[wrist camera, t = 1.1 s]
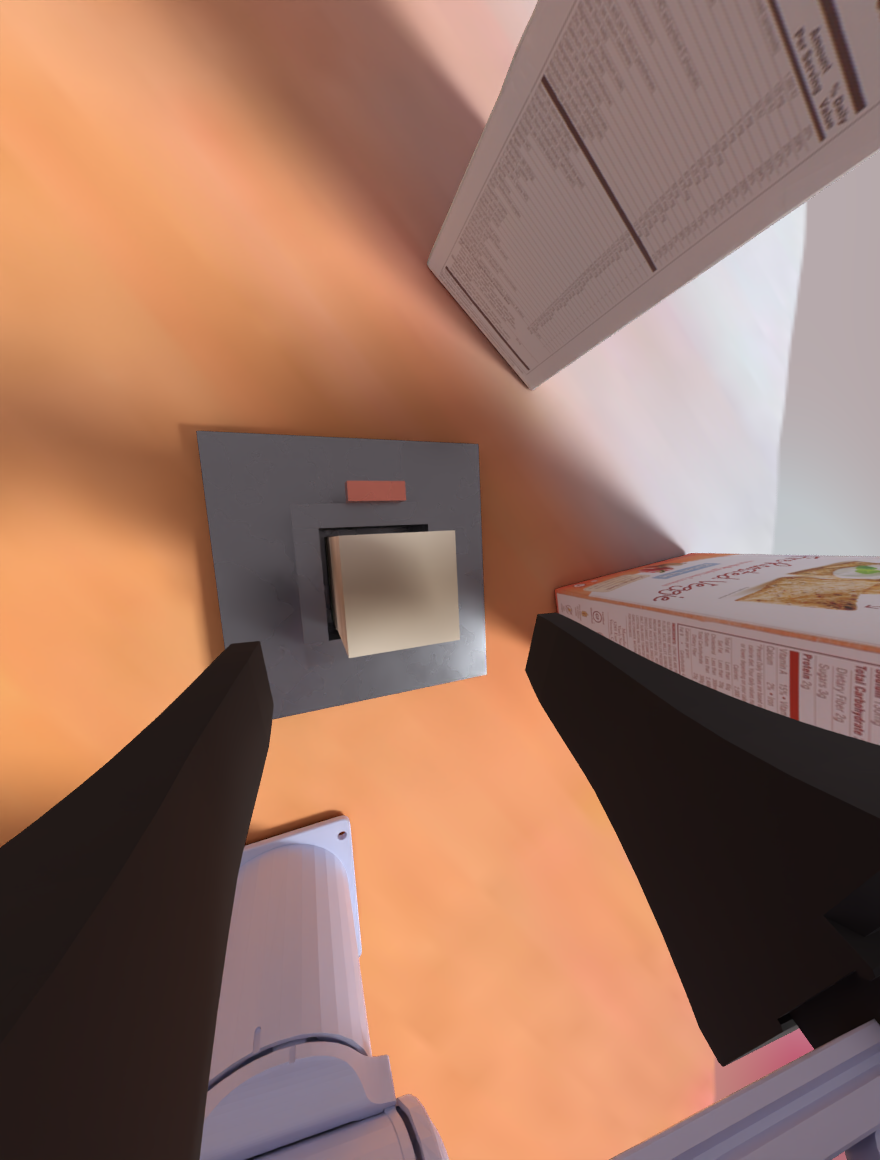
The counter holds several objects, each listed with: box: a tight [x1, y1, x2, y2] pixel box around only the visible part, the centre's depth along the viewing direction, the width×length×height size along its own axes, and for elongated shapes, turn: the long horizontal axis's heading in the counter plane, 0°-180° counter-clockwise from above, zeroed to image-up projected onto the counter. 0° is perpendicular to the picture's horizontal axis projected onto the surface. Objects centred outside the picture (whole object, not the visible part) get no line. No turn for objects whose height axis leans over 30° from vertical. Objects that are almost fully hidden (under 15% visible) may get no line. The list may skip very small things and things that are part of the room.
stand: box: [196, 431, 487, 719], centre depth 18 cm, size 14×14×5 cm
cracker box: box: [555, 553, 880, 745], centre depth 18 cm, size 14×6×21 cm, turn 98°
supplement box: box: [427, 0, 880, 390], centre depth 14 cm, size 10×9×17 cm
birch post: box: [324, 530, 460, 658], centre depth 15 cm, size 4×4×7 cm
